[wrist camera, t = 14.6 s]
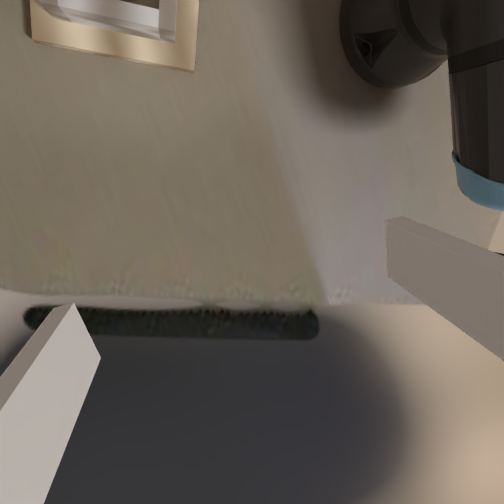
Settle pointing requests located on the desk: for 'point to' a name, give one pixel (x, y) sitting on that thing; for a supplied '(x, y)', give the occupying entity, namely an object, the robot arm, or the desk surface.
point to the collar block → (121, 29)
